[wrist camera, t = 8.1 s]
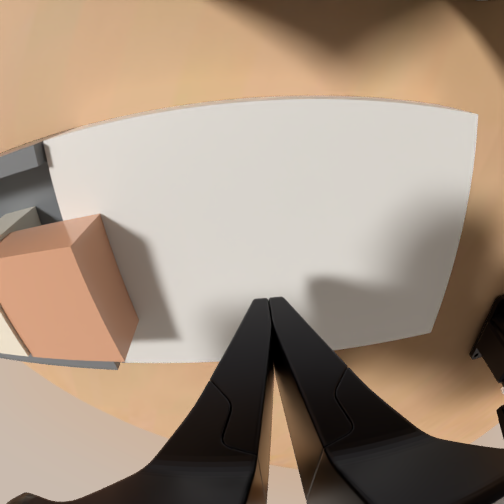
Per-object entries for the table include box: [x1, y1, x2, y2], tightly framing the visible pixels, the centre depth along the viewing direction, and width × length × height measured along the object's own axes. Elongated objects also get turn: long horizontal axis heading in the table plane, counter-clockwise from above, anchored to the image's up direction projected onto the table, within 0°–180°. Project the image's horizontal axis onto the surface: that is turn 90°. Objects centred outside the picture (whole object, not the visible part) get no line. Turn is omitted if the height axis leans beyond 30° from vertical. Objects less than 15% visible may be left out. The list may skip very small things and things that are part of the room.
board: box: [43, 95, 478, 363], centre depth 13 cm, size 16×11×3 cm
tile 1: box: [0, 206, 41, 357], centre depth 12 cm, size 5×5×2 cm
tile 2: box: [0, 214, 139, 362], centre depth 11 cm, size 5×5×2 cm
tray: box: [0, 128, 120, 370], centre depth 13 cm, size 9×11×4 cm
